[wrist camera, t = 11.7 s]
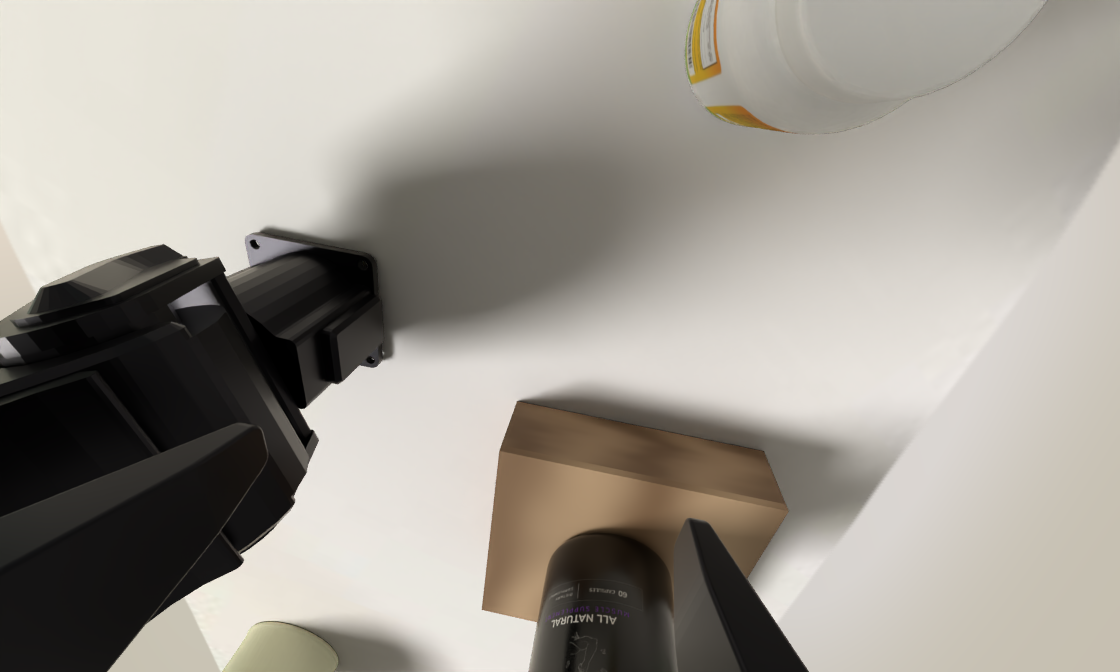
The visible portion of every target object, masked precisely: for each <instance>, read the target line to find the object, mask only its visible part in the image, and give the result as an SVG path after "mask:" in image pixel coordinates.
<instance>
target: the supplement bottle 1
mask: <svg viewBox="0 0 1120 672" xmlns="http://www.w3.org/2000/svg"><path fill="white" fill-rule="evenodd" d="M528 672H678V669H677V659H676V650H675V638H674V599H673V591H672V581H671V576H670V573H669V570H668V568H667V566H666V564H665V563H664V561H663V560H662V559H661V558H660V557H659V555H658V554H657V553H656V552H654V551H653V550H652V549H651V548H649V547H648V546H646V545H645V544H643V543H641V542H639V541H637V540H635V539H632V538H629V537H626V536H622V535H618V534H611V533H590V534H584V535H580V536H577V537H574V538H572V539H570V540H568V541H566V542H565V543H563V544H562V545H561V546H559V547H558V548H557V549H556V550H555V552H554V553H553V554H552V556H551V558H550V560H549V563H548V567H547V572H546V577H545V582H544V587H543V593H542V598H541V604H540V610H539V615H538V621H537V626H536V632H535V638H534V643H533V649H532V655H531V660H530V666H529V671H528Z"/></svg>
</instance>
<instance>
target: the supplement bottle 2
mask: <svg viewBox="0 0 1120 672" xmlns="http://www.w3.org/2000/svg"><path fill="white" fill-rule="evenodd" d="M1047 1H1048V0H698V1H697V3H696V5H695V8H694V10H693V13H692V15H691V18H690V21H689V24H688V28H687V33H686V39H685V50H684V58H685V68H686V74H687V78H688V81H689V84H690V86H691V89H692V91H693V93H694V95H695V96H696V98H697V99H698V101H699V102H700V104H701V105H702V106H703V107H704V108H705V109H706V110H707V111H708V112H710V113H711V114H712V115H714V116H715V117H717V118H719V119H721V120H723V121H725V122H728V123H731V124H734V125H739V126H746V127H755V128H761V129H767V130H774V131H781V132H788V133H796V134H827V133H836V132H842V131H846V130H849V129H852V128H856V127H860V126H862V125H865V124H867V123H870V122H872V121H874V120H877V119H879V118H881V117H883V116H885V115H886V114H888V113H890V112H892V111H893V110H895V109H897V108H898V107H900V106H902V105H903V104H904V103H906V102H907V101H909V100H910V99H911V98H915V97H920V96H923V95H926V94H929V93H931V92H934V91H937V90H940V89H942V88H945V87H947V86H949V85H951V84H953V83H955V82H957V81H959V80H961V79H963V78H964V77H966V76H968V75H970V74H972V73H973V72H974V71H976V70H977V69H979V68H980V67H982V66H983V65H985V64H986V63H987V62H989V61H990V60H991V59H993V58H994V57H995V56H996V55H998V54H999V53H1000V52H1001V51H1002V50H1004V49H1005V48H1006V47H1007V46H1008V45H1009V44H1010V43H1012V42H1013V41H1014V40H1015V39H1016V37H1017V36H1018V35H1019V34H1020V33H1021V32H1022V31H1023V30H1024V29H1025V28H1026V27H1027V26H1028V25H1029V23H1030V22H1031V21H1032V20H1033V19H1034V18H1035V16H1036V15H1037V14H1038V12H1039V11H1040V10H1041V8H1042V7H1043V6H1044V5H1045V3H1046V2H1047Z"/></svg>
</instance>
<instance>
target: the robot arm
mask: <svg viewBox="0 0 1120 672" xmlns="http://www.w3.org/2000/svg"><path fill="white" fill-rule="evenodd" d="M256 241H257V242H258V243H259V245H260V246H259V245H258V244H257V243H256ZM245 244H246V249H247V254H248V258H249V263H250V267H248V268H246V269H244V270H241V271H239V272H237V273H234V274H232V275H229V276H227V277H226V276H225V274H224V272H225V271H226V270H225V268H224V266H223V264H222V262H221V260H220V259H219V257H213V258H207V259H200V260H197V258H188V257H187V256H182V255H181V254H179V253H177V252H176V251H174V250H172V249H171V248H169V247H168V246H166V245H164V244H162V245H156V246H150V247H147V248H143V249H140V250H137V251H133V252H130V253H126V254H123V255H120V256H116V257H113V258H110V259H107V260H103V261H100V262H98V263H95V264H92V265H89V266H87V267H85V268H82V269H80V270H78V271H76V272H73V273H71V274H69V275H67V276H65V277H62V278H60V279H58V280H56V281H53V282H51V283H49V284H47V285H44V286H42V287H41V288H40V290H39V291H38V293H37V295H36V297H35V299H34V300H33V301H31V302H30V303H28V304H26V305H25V306H23V307H22V308H20V309H19V310H17V311H15V312H14V313H12V314H11V315H9V316H7V317H6V318H4V319H3V320H1V321H0V672H107V671H108V670H109V669H110V668H111V666H112V665H113V664H114V663H115V662H116V660H117V659H118V658H119V657H120V655H121V654H122V653H123V652H124V650H125V649H126V648H127V647H128V645H129V644H130V643H131V642H132V641H133V639H134V638H135V637H136V636H137V634H138V633H139V632H140V631H141V629H142V628H143V627H144V626H145V624H147V623H148V622H149V621H150V620H152V619H153V618H155V617H156V616H157V615H159V614H160V613H161V612H163V611H164V610H165V609H167V608H168V607H169V606H170V605H172V604H173V603H175V602H177V601H178V600H180V599H182V598H183V597H185V596H186V595H188V594H190V593H191V592H193V591H194V590H196V589H198V588H199V587H201V586H202V585H204V584H206V583H208V582H210V581H212V580H215V579H217V578H219V577H221V576H223V575H225V574H227V573H229V572H231V571H233V570H235V569H237V568H238V567H240V566H241V565H242V563H243V561H244V559H243V557H242V556H241V555H240V554H242V553H243V552H245V551H247V550H248V549H250V548H251V547H252V546H254V545H255V544H256V543H258V542H259V541H260V540H262V539H263V538H264V537H265V536H266V535H267V534H268V533H269V532H270V531H272V530H273V529H274V528H275V526H276V525H277V524H278V523H279V522H280V521H281V520H282V518H283V517H284V516H285V515H286V514H287V513H288V512H289V511H290V510H291V509H292V507H293V505H294V503H295V499H294V495H295V492H296V490H297V488H298V486H299V484H300V483H301V481H302V479H303V478H304V476H305V474H306V473H307V467H308V464H309V461H310V459H311V457H312V455H313V452H314V450H315V448H316V446H317V444H318V441H319V439H318V438H317V436H316V434H315V432H314V431H313V430H310V428H309V426H308V425H307V423H306V421H305V419H304V417H303V416H302V414H301V412H300V410H299V408H300V409H305V408H306V407H307V406H308V405H309V404H310V403H311V402H312V401H313V400H314V399H316V398H317V397H318V396H319V395H320V394H321V393H322V392H323V391H324V390H325V389H326V388H327V387H328V386H329V385H330V384H331V383H333V384H339V383H341V382H342V381H344V380H345V379H346V378H347V377H348V376H349V375H350V374H351V373H352V372H353V371H354V370H355V369H356V368H357V367H358V366H359V365H361V366H366V367H371V368H374V367H377V366H378V365H379V364H380V363H381V361H382V359H383V356H382V342H383V341H384V331H383V314H382V301H381V299H380V297H379V292H378V276H377V264H376V260H375V259H374V257H373V256H371V255H370V254H367V253H363V252H358V251H353V250H348V249H342V248H337V247H332V246H327V245H322V244H316V243H311V242H306V241H301V240H296V239H290V238H285V237H280V236H275V235H270V234H264V233H259V232H256V233H252V234H250V235H248V236H246V238H245ZM362 260H363V261H365V262H366V263H367V265H368V268H367V267H365V266H364V265H363V263H362ZM370 356H371V357H373V358H374V360H373V359H371V358H370ZM674 638H675V650H676V659H677V669H678V672H809V671H808V670H807V668H806V667H805V665H804V664H803V662H802V661H801V659H800V658H799V656H798V655H797V653H796V652H795V650H794V649H793V647H792V646H791V644H790V643H789V641H788V640H787V638H786V637H785V636H784V634H783V632H782V631H781V629H780V628H779V626H778V625H777V623H776V622H775V620H774V619H773V617H772V616H771V614H770V613H769V611H768V610H767V608H766V607H765V605H764V604H763V602H762V601H761V599H760V598H759V596H758V595H757V593H756V592H755V590H754V589H753V587H752V586H751V584H750V583H749V581H748V580H747V578H746V577H745V575H744V574H743V572H742V571H741V569H740V568H739V566H738V565H737V564H736V562H735V561H734V559H733V558H732V556H731V555H730V553H729V552H728V550H727V549H726V547H725V546H724V544H723V543H722V541H721V540H720V538H719V537H718V535H717V534H716V532H715V531H714V529H713V528H712V526H711V525H710V524H709V523H708V522H707V521H704V520H700V519H695V518H687V519H686V520H685V522H684V524H683V526H682V529H681V531H680V533H679V535H678V537H677V540H676V542H675V546H674Z"/></svg>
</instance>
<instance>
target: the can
mask: <svg viewBox="0 0 1120 672" xmlns="http://www.w3.org/2000/svg"><path fill="white" fill-rule="evenodd" d="M337 666H338V657H337V654H336V652H335V651H334V650H333V648H332V647H331V646H330V645H329V644H328V643H326V642H325V641H324V640H323V639H321V638H320V637H318V636H316V635H315V634H313V633H311V632H309V631H307V630H305V629H302V628H299V627H297V626H293V625H290V624H286V623H280V622H262V623H258V624H256V625H254V626H253V627H251V628H250V630H249V631H248V633H247V636H246V637H245V639H244V640H243V642H242V643H241V645H240V646H239V648H238V649H237V651H236V652H235V654H234V655H233V657H232V658H231V660H230V661H229V662H228V664H227V665H226V667H225V668H224V670H223V671H222V672H334V670H335V669H336V668H337Z"/></svg>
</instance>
